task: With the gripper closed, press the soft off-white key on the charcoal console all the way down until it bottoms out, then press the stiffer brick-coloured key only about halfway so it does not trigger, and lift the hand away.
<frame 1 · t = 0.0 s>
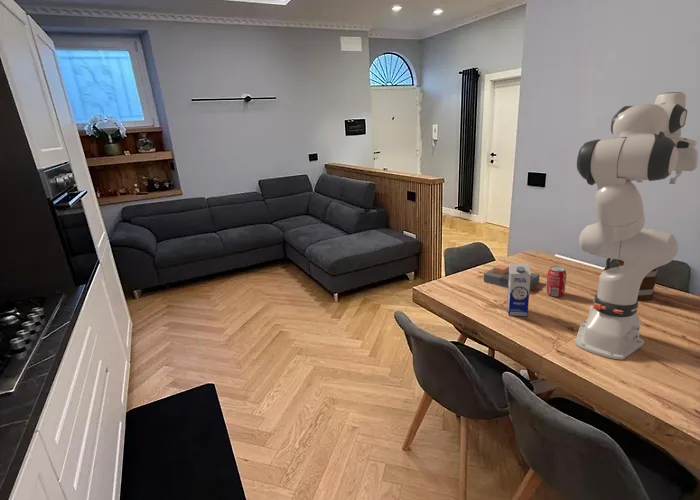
hand: (655, 182, 134), 48 cm above the table, fingers open, 8 cm apart
brick key: (501, 269, 179), point 5 cm above the table, slide at 0.0 cm
console: (510, 282, 177), on the table
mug: (626, 291, 159), on the table
soda can: (554, 294, 162), on the table
milk carton: (516, 312, 150), on the table
white key: (522, 274, 172), point 5 cm above the table, slide at 0.0 cm
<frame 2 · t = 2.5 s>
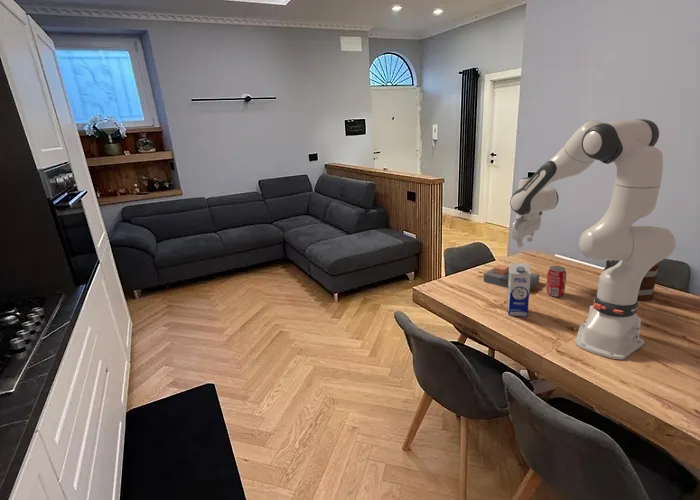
hand: (524, 244, 167), 20 cm above the table, fingers open, 8 cm apart
nothing on the table moved.
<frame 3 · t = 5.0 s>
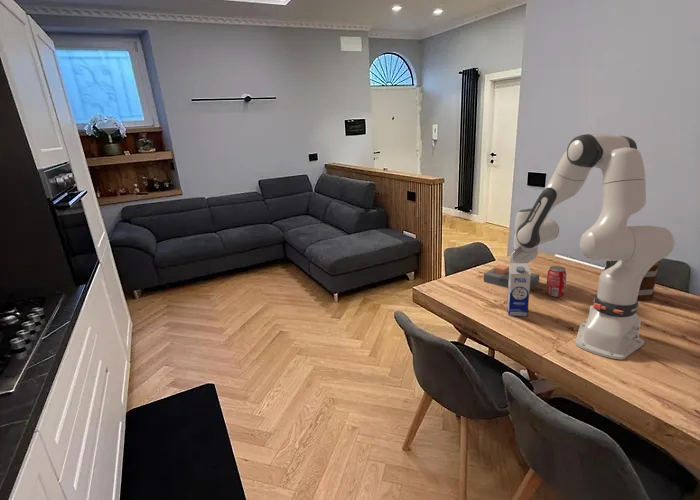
hand: (522, 272, 172), 6 cm above the table, fingers closed, pressing on white key
white key: (521, 276, 172), point 4 cm above the table, slide at 0.7 cm, touching gripper
everything else where it was.
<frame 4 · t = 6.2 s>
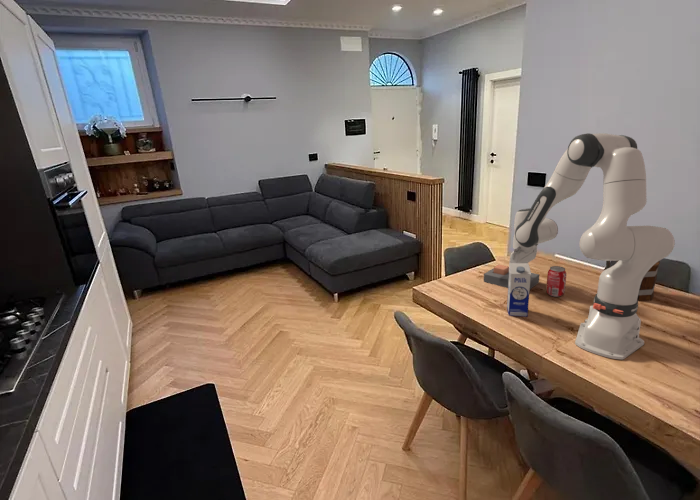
hand: (522, 273, 171), 6 cm above the table, fingers closed
white key: (521, 279, 172), point 2 cm above the table, slide at 2.5 cm, touching console
everything else where it was.
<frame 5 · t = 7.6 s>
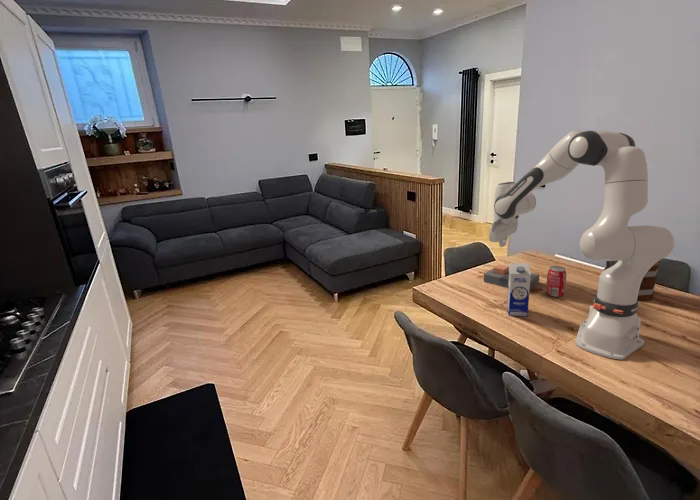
hand: (502, 246, 175), 17 cm above the table, fingers closed
nothing on the table moved.
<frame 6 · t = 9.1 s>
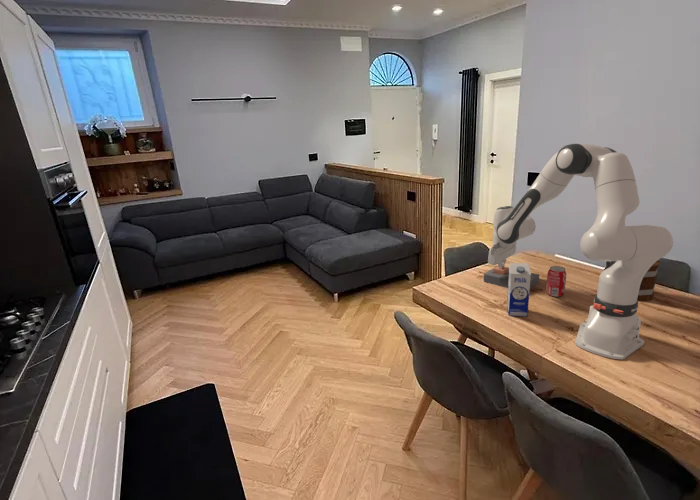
hand: (501, 268, 179), 6 cm above the table, fingers closed, pressing on brick key
brick key: (501, 271, 179), point 4 cm above the table, slide at 0.6 cm, touching gripper
everything else where it was.
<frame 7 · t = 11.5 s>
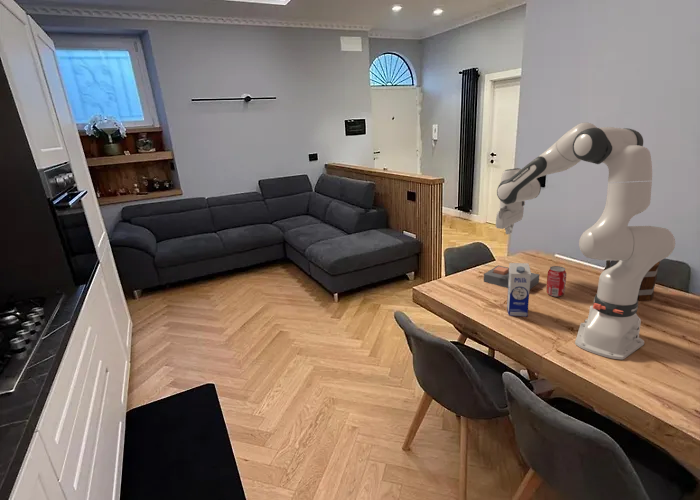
hand: (508, 233, 175), 22 cm above the table, fingers closed
brick key: (501, 271, 179), point 4 cm above the table, slide at 1.0 cm
everything else where it was.
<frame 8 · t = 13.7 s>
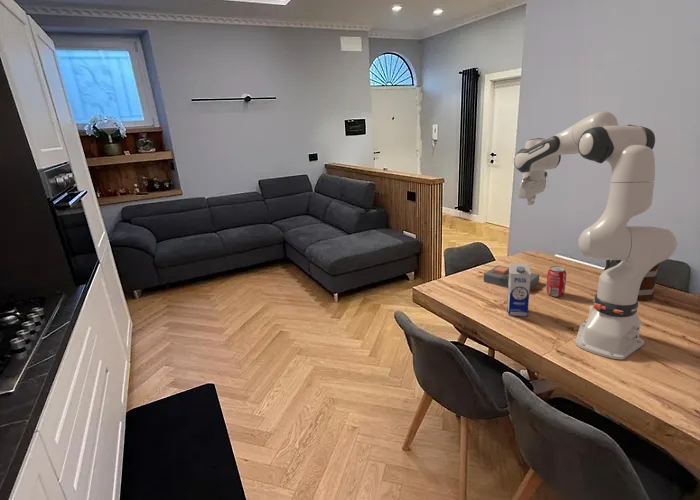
hand: (530, 204, 176), 34 cm above the table, fingers closed
nothing on the table moved.
at the end: white key slide at 2.5 cm; brick key slide at 1.0 cm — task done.
